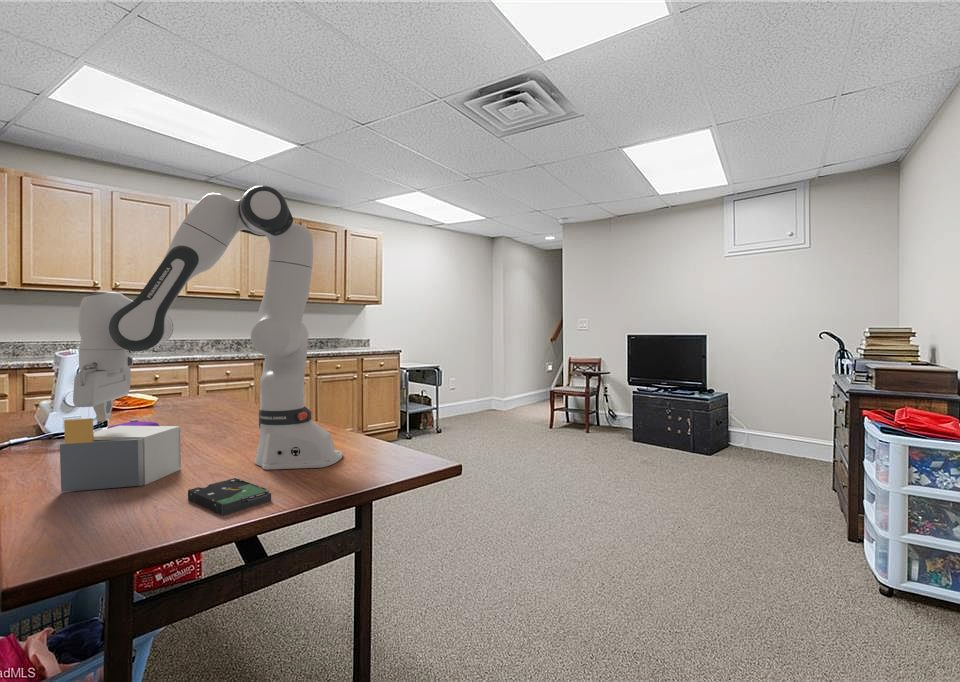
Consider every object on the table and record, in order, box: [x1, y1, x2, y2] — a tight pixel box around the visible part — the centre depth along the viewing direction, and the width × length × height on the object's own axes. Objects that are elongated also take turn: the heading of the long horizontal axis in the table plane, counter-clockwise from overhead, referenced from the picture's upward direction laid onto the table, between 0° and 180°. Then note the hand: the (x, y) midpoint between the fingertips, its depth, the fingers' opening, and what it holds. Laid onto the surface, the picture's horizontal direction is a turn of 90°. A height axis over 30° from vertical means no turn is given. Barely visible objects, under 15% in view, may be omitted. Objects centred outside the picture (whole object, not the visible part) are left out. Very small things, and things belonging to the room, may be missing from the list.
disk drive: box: [187, 477, 272, 517], centre depth 101 cm, size 10×3×15 cm
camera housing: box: [94, 425, 182, 486], centre depth 118 cm, size 16×13×11 cm
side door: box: [59, 417, 145, 493], centre depth 108 cm, size 15×1×16 cm, turn 107°
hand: (103, 420), depth 114 cm, fingers closed
